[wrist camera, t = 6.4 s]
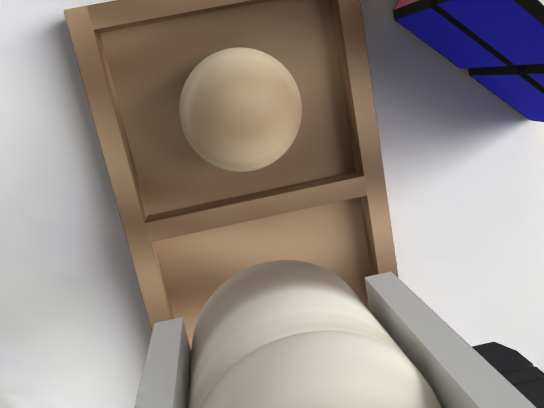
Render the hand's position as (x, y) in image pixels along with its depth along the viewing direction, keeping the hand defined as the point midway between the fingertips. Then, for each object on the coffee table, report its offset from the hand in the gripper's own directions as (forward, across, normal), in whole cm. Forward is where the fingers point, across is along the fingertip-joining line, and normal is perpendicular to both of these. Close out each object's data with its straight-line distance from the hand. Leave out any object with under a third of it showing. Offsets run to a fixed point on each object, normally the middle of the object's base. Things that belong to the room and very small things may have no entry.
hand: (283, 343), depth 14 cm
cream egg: (0, 0, 0) cm, 0 cm away
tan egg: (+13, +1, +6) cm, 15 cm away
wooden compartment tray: (+14, +1, -4) cm, 15 cm away
